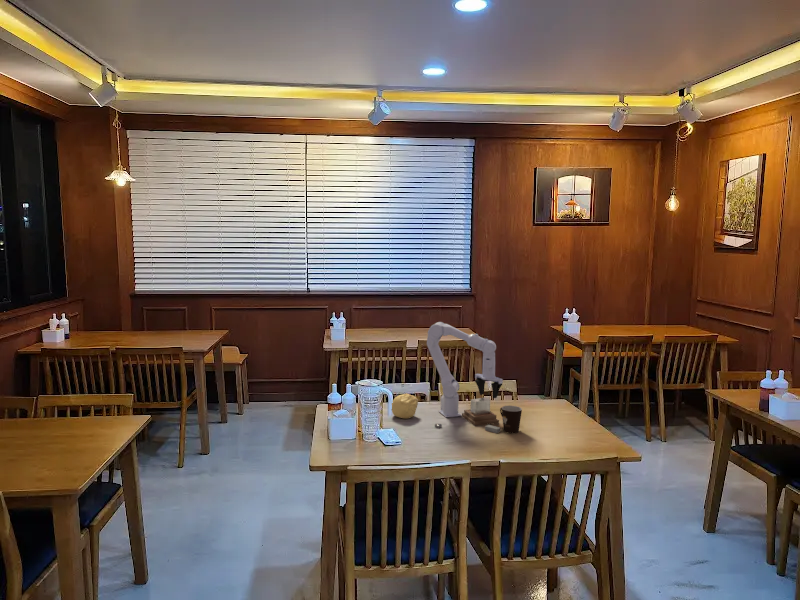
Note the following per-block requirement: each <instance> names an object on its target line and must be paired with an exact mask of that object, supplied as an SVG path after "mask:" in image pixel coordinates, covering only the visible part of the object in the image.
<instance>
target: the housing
mask: <svg viewBox="0 0 800 600" xmlns="http://www.w3.org/2000/svg"><path fill="white" fill-rule="evenodd" d="M470 409H471V413H473V414H475V415H478V414H484V413H489V412H490V411H491V399H490V398H488V397H479V398H472V399H470Z"/></svg>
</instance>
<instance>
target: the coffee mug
mask: <svg viewBox="0 0 800 600" xmlns="http://www.w3.org/2000/svg"><path fill="white" fill-rule="evenodd" d="M522 412H523V409H522V407H520V406H516V405H504V406H502V407H500V409H499V413H500V415H501V417H502V426H503V427H502V429H503V432H504V433H507V434H518V433H519V429H520V426H521V418H522Z"/></svg>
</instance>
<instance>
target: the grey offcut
mask: <svg viewBox="0 0 800 600" xmlns="http://www.w3.org/2000/svg"><path fill="white" fill-rule="evenodd" d="M501 428H502V427H499V426H496V425H493V424H488V425H484V431H487V432H491V433H495V434H499V433H500V432H501V430H502V429H501Z"/></svg>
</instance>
